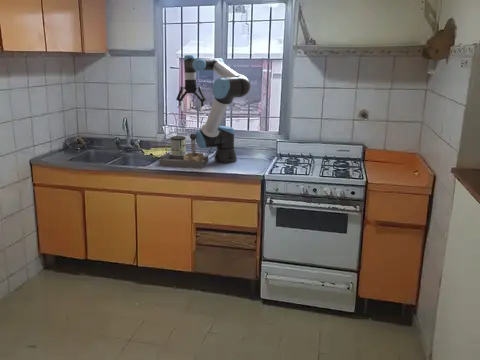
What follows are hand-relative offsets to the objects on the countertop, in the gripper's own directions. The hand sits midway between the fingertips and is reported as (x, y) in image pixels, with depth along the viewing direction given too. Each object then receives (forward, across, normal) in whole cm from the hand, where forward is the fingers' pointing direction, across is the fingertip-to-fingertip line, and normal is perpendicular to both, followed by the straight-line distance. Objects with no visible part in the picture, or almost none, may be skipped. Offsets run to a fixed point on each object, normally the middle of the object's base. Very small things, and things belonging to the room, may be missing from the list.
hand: (191, 111), depth 304 cm
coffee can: (+32, -9, -4) cm, 33 cm away
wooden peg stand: (+30, +8, -21) cm, 37 cm away
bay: (+32, +1, -21) cm, 38 cm away
